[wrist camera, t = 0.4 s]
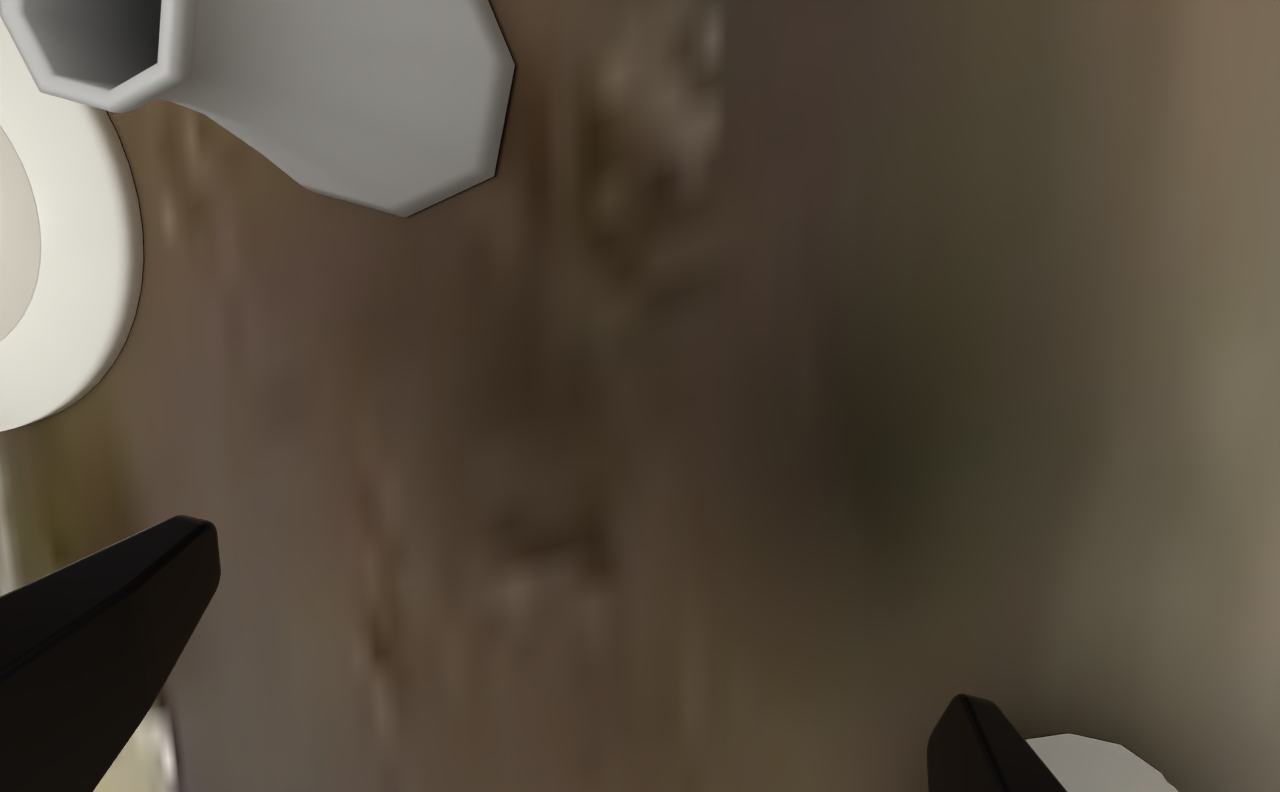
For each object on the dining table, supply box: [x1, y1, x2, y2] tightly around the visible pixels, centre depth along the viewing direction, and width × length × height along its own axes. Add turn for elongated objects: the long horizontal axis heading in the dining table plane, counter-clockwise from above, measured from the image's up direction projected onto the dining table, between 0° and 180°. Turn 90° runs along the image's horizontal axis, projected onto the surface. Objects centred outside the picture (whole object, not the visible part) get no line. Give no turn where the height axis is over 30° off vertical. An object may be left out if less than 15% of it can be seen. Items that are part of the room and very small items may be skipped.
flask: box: [0, 0, 515, 218], centre depth 17 cm, size 7×7×10 cm
